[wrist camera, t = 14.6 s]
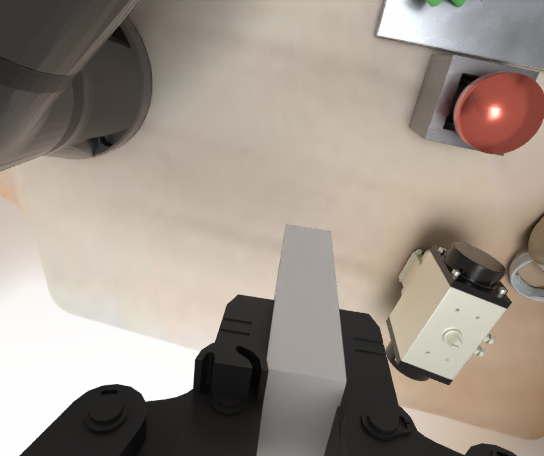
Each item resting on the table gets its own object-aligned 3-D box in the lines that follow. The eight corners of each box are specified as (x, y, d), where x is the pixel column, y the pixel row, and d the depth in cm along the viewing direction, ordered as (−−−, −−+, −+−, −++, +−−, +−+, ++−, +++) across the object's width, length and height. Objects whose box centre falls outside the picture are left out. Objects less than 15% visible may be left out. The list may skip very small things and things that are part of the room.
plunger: (418, 123, 35) (449, 145, 27) (438, 62, 33) (479, 65, 25) (475, 135, 35) (524, 161, 27) (499, 75, 33) (560, 81, 25)
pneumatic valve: (373, 304, 44) (391, 388, 33) (428, 210, 39) (470, 271, 28) (420, 322, 44) (453, 411, 33) (480, 231, 39) (542, 300, 28)
